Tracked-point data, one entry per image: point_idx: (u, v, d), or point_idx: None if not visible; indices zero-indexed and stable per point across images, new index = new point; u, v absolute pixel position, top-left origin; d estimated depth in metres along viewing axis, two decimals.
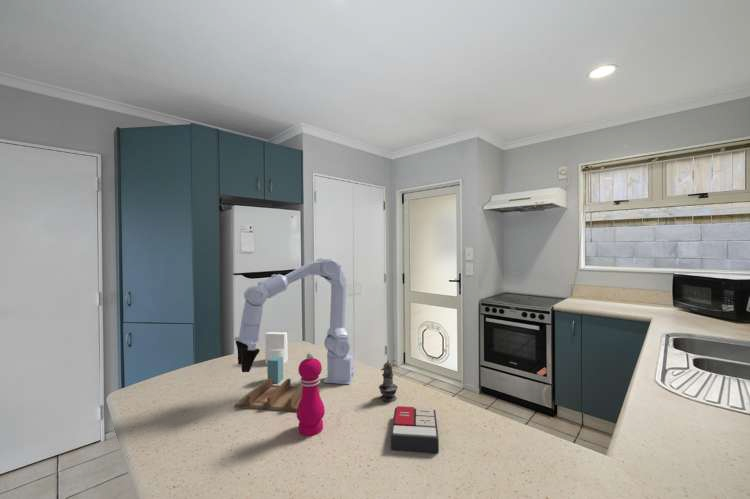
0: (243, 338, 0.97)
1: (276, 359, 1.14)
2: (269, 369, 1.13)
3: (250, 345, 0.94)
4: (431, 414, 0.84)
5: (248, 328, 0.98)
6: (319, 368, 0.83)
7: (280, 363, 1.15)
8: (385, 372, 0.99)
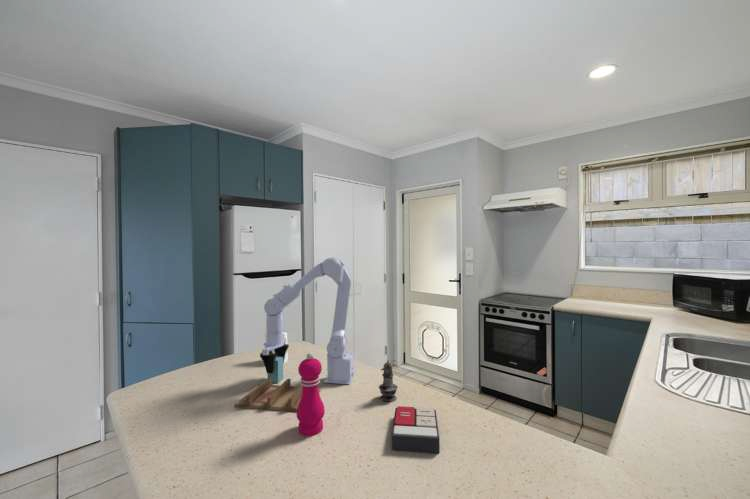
0: (267, 344, 1.13)
1: (276, 359, 1.14)
2: None
3: (263, 351, 1.08)
4: (432, 414, 0.84)
5: (268, 335, 1.13)
6: (319, 368, 0.83)
7: (280, 363, 1.15)
8: (385, 372, 0.99)
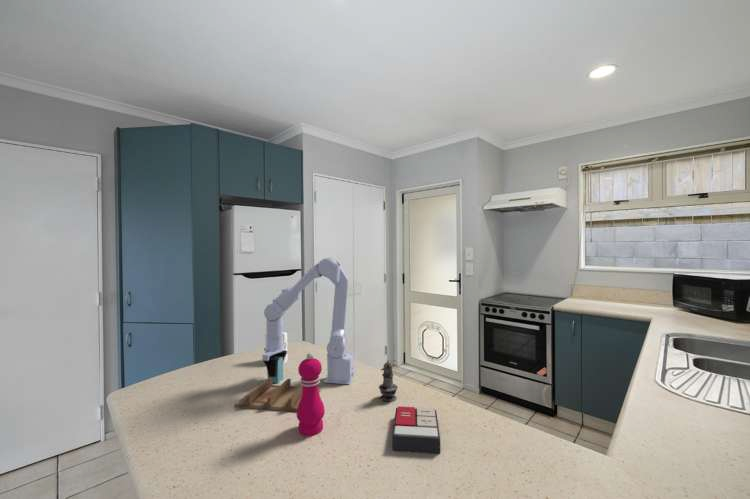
0: (267, 349, 1.13)
1: None
2: None
3: (263, 356, 1.08)
4: (432, 414, 0.84)
5: (269, 341, 1.13)
6: (319, 368, 0.83)
7: (280, 363, 1.15)
8: (385, 372, 0.99)
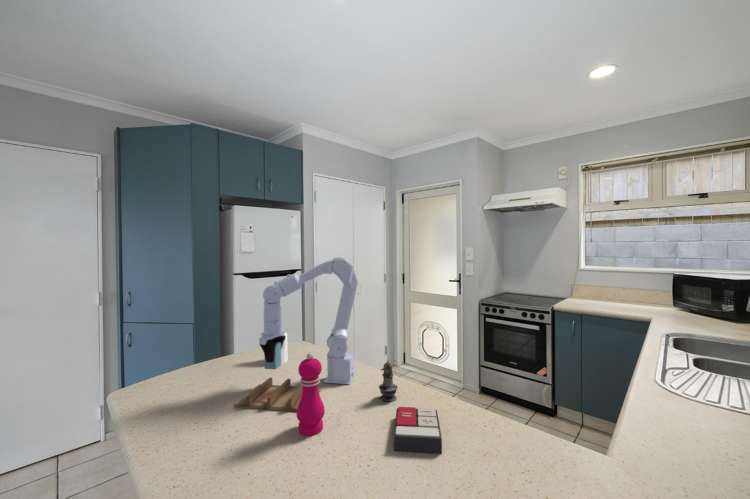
0: (264, 333, 1.08)
1: None
2: None
3: (260, 340, 1.03)
4: (433, 414, 0.84)
5: (266, 324, 1.07)
6: (319, 368, 0.83)
7: (278, 348, 1.10)
8: (385, 372, 0.99)
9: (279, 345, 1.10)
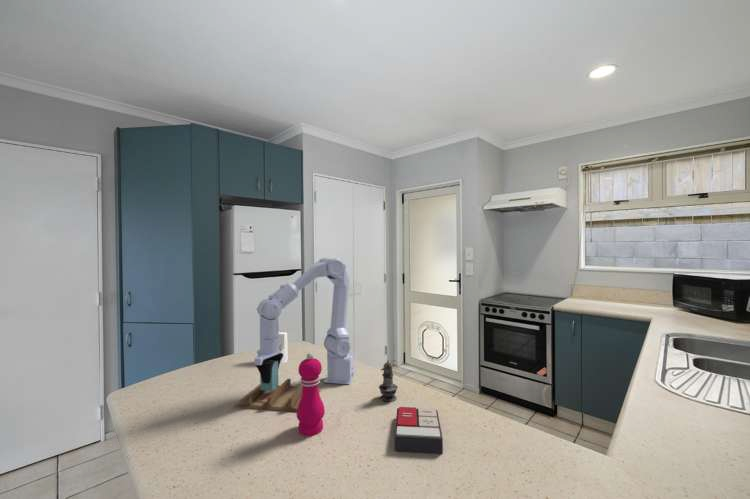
0: (260, 351, 1.00)
1: None
2: None
3: (255, 360, 0.95)
4: (434, 414, 0.84)
5: (262, 342, 0.99)
6: (319, 368, 0.83)
7: (275, 368, 1.01)
8: (385, 372, 0.99)
9: (276, 364, 1.02)
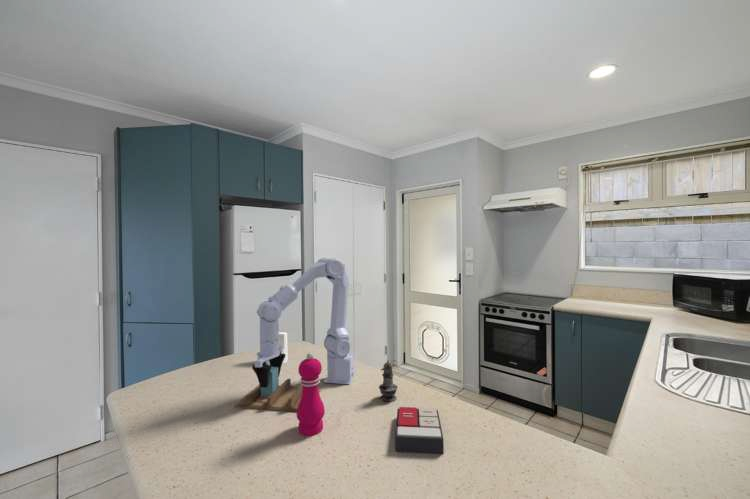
0: (260, 354, 1.00)
1: (271, 370, 1.00)
2: None
3: (255, 362, 0.95)
4: (434, 414, 0.84)
5: (262, 344, 0.99)
6: (319, 368, 0.83)
7: (275, 374, 1.01)
8: (385, 372, 0.99)
9: (276, 370, 1.02)
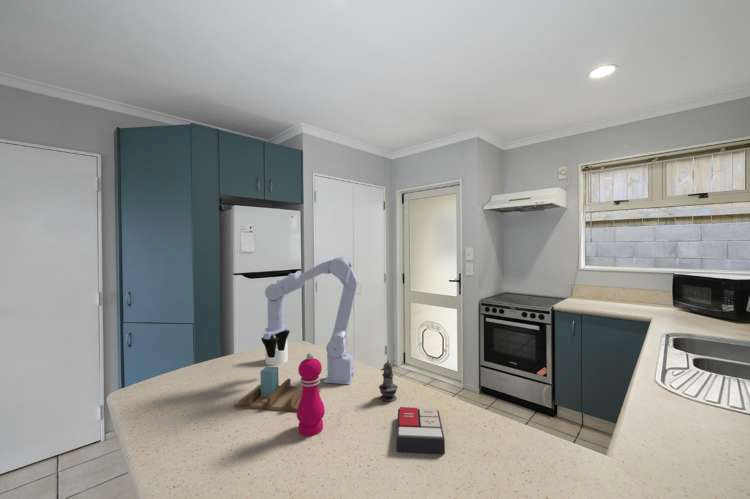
0: (268, 328, 1.14)
1: (271, 370, 1.00)
2: (263, 382, 1.00)
3: (264, 335, 1.09)
4: (435, 415, 0.84)
5: (270, 320, 1.14)
6: (319, 368, 0.83)
7: (275, 374, 1.01)
8: (385, 372, 0.99)
9: (276, 370, 1.02)
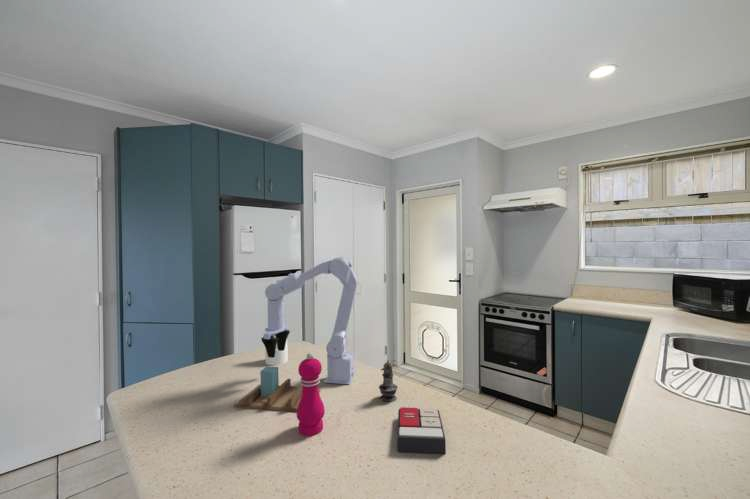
0: (268, 328, 1.14)
1: (271, 370, 1.00)
2: (263, 382, 1.00)
3: (264, 335, 1.09)
4: (436, 415, 0.83)
5: (270, 320, 1.14)
6: (319, 368, 0.83)
7: (275, 374, 1.01)
8: (385, 372, 0.99)
9: (276, 370, 1.02)
